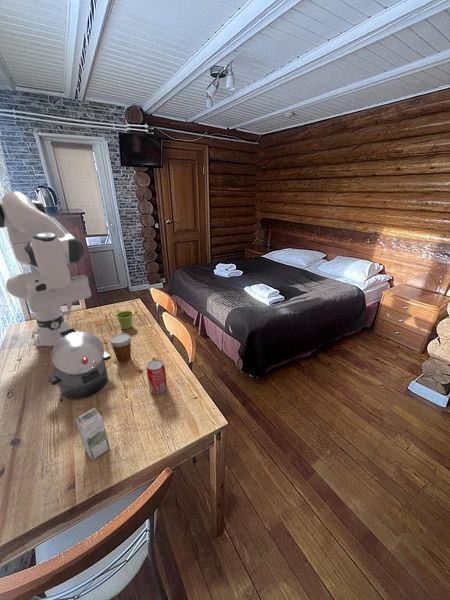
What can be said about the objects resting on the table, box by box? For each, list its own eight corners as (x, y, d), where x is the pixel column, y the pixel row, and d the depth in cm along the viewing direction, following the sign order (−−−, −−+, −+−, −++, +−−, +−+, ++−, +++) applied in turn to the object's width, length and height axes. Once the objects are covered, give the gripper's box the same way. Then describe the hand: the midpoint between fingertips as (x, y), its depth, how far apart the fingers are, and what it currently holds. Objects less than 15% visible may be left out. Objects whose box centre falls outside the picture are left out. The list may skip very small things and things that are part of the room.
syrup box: (102, 438, 86) (93, 406, 81) (110, 449, 83) (102, 416, 77) (84, 450, 83) (74, 417, 77) (92, 462, 79) (82, 428, 73)
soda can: (170, 387, 109) (168, 362, 103) (158, 398, 103) (155, 372, 98) (158, 381, 112) (155, 356, 107) (145, 391, 106) (142, 366, 101)
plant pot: (114, 329, 152) (112, 316, 148) (124, 322, 160) (122, 309, 157) (128, 332, 150) (126, 318, 146) (137, 324, 158) (136, 311, 154)
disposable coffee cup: (125, 366, 121) (121, 345, 116) (109, 362, 124) (104, 341, 119) (138, 355, 129) (135, 334, 124) (122, 351, 132) (118, 331, 127)
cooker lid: (41, 341, 99) (40, 337, 97) (89, 324, 111) (89, 320, 109) (64, 384, 94) (64, 380, 91) (111, 361, 106) (112, 358, 104)
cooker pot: (48, 387, 108) (41, 366, 103) (102, 362, 123) (97, 343, 119) (65, 412, 96) (58, 390, 92) (122, 381, 112) (118, 360, 107)
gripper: (83, 271, 101) (90, 303, 106) (20, 285, 87) (32, 321, 92) (90, 275, 97) (97, 308, 103) (25, 289, 83) (37, 327, 89)
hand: (66, 314), depth 97 cm, fingers closed
